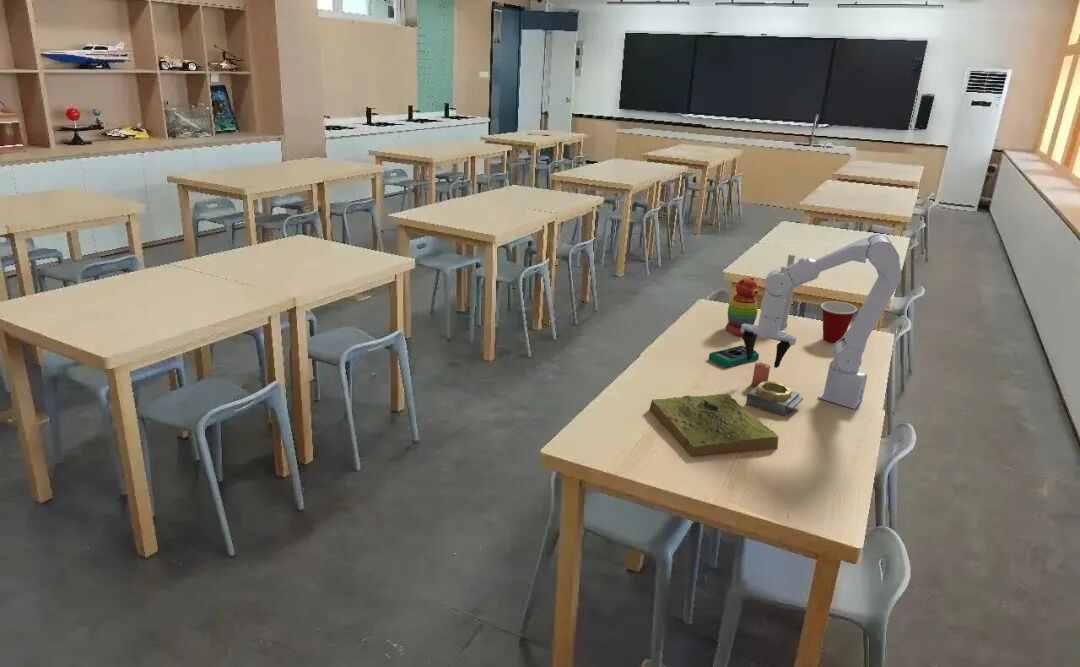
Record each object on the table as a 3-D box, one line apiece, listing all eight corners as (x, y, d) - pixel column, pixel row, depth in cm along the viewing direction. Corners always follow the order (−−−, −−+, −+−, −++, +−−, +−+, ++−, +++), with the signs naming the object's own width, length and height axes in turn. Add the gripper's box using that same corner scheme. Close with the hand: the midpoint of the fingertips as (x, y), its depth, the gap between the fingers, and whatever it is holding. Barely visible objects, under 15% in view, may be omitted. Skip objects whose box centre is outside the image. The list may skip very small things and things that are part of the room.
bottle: (785, 324, 250) (798, 253, 241) (788, 329, 245) (801, 257, 236) (769, 323, 250) (782, 252, 242) (772, 328, 246) (785, 256, 237)
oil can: (768, 385, 200) (772, 362, 198) (763, 390, 197) (767, 366, 195) (754, 381, 203) (758, 358, 200) (749, 385, 200) (753, 362, 197)
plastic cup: (807, 337, 239) (813, 302, 235) (830, 333, 244) (837, 299, 240) (833, 348, 230) (841, 313, 226) (856, 344, 235) (864, 309, 231)
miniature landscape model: (691, 459, 161) (694, 439, 160) (648, 411, 182) (650, 393, 181) (777, 451, 167) (781, 431, 165) (726, 405, 188) (729, 388, 187)
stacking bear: (738, 337, 235) (747, 284, 229) (717, 327, 243) (725, 276, 237) (763, 333, 240) (772, 281, 234) (741, 323, 248) (749, 273, 242)
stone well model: (802, 405, 190) (805, 389, 188) (789, 418, 182) (792, 401, 180) (760, 392, 196) (763, 376, 194) (745, 404, 188) (748, 388, 187)
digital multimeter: (759, 360, 219) (761, 351, 218) (725, 369, 210) (727, 360, 209) (740, 352, 224) (742, 343, 223) (707, 360, 216) (708, 351, 215)
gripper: (739, 312, 194) (731, 359, 199) (793, 325, 186) (783, 374, 191) (749, 306, 199) (742, 352, 204) (802, 319, 191) (793, 367, 196)
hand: (762, 362), depth 198 cm, fingers open, 7 cm apart
